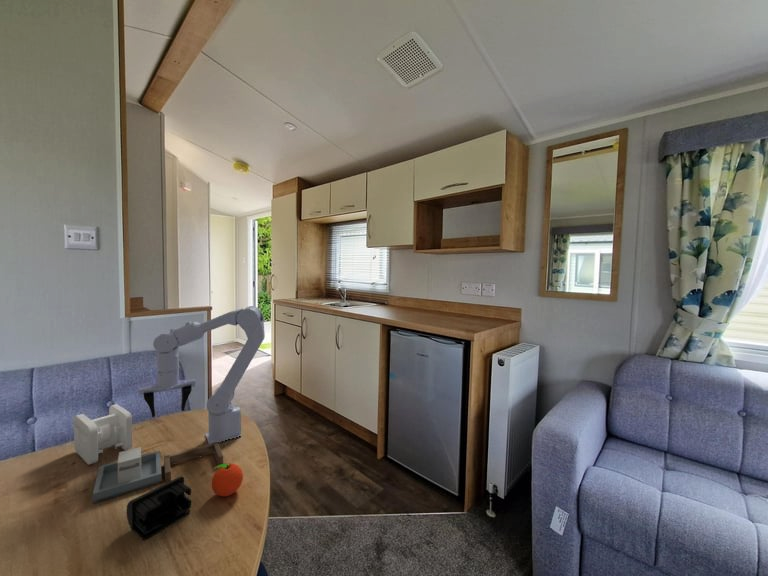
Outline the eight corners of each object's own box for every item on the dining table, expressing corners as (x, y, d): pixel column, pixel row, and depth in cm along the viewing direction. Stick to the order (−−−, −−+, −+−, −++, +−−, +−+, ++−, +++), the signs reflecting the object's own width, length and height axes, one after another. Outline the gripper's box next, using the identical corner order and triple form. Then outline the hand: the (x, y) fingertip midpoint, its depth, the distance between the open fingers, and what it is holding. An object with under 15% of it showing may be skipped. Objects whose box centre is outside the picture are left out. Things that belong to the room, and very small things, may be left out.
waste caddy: (141, 468, 85) (141, 446, 85) (140, 482, 80) (140, 459, 79) (119, 474, 83) (119, 452, 82) (117, 489, 77) (117, 465, 77)
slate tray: (160, 458, 91) (159, 450, 91) (161, 482, 81) (161, 473, 80) (99, 475, 83) (99, 466, 83) (92, 504, 73) (92, 493, 73)
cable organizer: (134, 452, 94) (134, 414, 94) (87, 470, 85) (86, 428, 85) (116, 437, 102) (115, 402, 102) (71, 452, 93) (70, 413, 93)
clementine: (200, 500, 75) (200, 471, 74) (220, 481, 81) (220, 454, 81) (230, 505, 73) (230, 475, 73) (248, 485, 80) (248, 458, 80)
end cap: (177, 499, 75) (177, 472, 75) (193, 512, 71) (193, 482, 71) (126, 528, 66) (125, 496, 66) (141, 543, 63) (140, 510, 62)
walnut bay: (217, 449, 96) (217, 441, 96) (223, 464, 89) (223, 455, 89) (164, 464, 88) (163, 456, 88) (165, 482, 81) (165, 473, 81)
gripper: (138, 377, 92) (139, 423, 92) (196, 369, 100) (196, 411, 101) (139, 371, 97) (139, 414, 98) (193, 364, 106) (193, 404, 106)
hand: (168, 412), depth 100 cm, fingers open, 7 cm apart
